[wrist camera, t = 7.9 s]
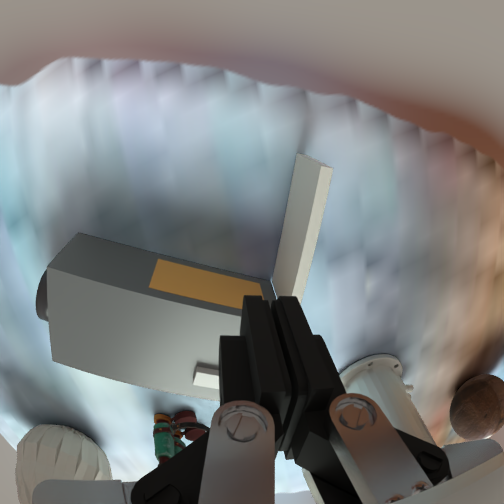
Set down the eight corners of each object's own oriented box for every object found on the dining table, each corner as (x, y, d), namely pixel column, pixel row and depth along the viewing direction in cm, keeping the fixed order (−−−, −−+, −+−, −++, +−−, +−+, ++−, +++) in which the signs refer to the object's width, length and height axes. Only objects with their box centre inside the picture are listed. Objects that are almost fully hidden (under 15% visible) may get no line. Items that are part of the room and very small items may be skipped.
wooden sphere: (431, 416, 57) (458, 463, 43) (449, 375, 50) (485, 427, 37) (477, 393, 57) (505, 433, 44) (497, 351, 51) (533, 394, 37)
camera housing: (270, 280, 35) (286, 330, 27) (238, 357, 40) (245, 410, 32) (60, 227, 30) (22, 263, 22) (58, 313, 34) (32, 359, 26)
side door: (286, 285, 35) (302, 325, 29) (271, 284, 35) (284, 325, 28) (314, 156, 30) (342, 170, 23) (296, 153, 29) (321, 166, 23)
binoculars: (229, 478, 38) (169, 489, 37) (218, 427, 48) (165, 439, 47) (210, 455, 34) (142, 466, 33) (201, 398, 44) (143, 411, 43)
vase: (40, 395, 40) (-5, 541, 13) (135, 445, 48) (125, 586, 21) (20, 428, 45) (-12, 538, 18) (97, 469, 53) (84, 577, 25)
